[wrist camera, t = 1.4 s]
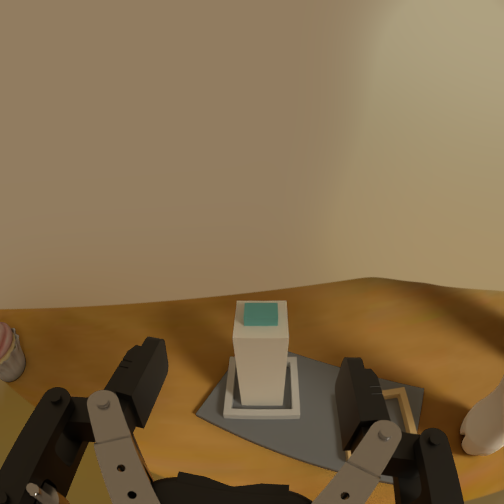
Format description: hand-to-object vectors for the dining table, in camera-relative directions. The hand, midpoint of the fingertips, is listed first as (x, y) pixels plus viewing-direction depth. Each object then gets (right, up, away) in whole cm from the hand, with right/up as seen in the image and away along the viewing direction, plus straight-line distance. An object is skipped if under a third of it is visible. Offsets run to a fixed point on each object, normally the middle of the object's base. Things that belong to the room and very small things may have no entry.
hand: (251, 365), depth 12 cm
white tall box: (+1, -11, +19) cm, 22 cm away
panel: (+7, -13, +16) cm, 22 cm away
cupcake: (-38, -13, +19) cm, 44 cm away
